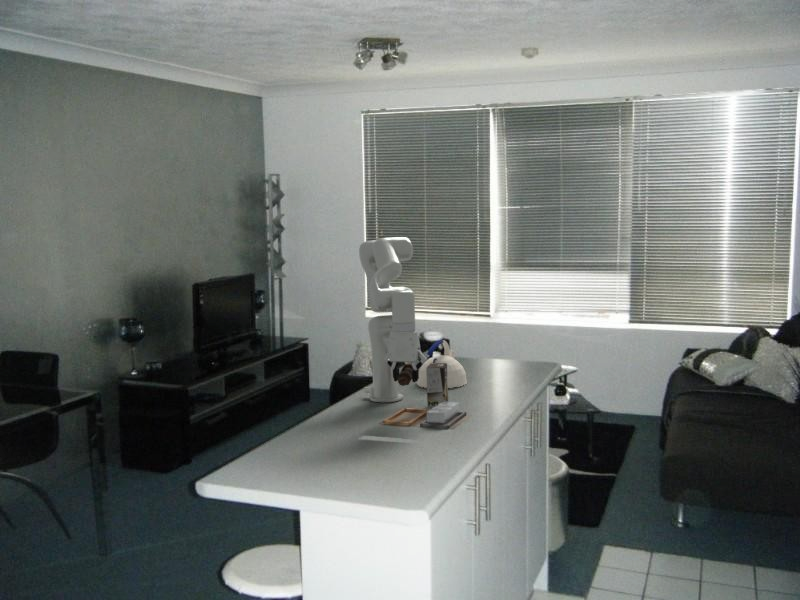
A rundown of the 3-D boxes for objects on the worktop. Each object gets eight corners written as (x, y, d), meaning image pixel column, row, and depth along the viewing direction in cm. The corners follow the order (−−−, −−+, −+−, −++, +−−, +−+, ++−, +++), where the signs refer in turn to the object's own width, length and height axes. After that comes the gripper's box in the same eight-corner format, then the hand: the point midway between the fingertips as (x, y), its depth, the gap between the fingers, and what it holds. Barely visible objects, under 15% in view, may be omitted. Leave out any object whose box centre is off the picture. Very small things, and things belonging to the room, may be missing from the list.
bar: (427, 425, 260) (426, 412, 260) (443, 414, 274) (442, 401, 273) (444, 427, 258) (444, 413, 257) (459, 415, 271) (459, 402, 271)
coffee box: (445, 413, 280) (444, 367, 278) (427, 413, 281) (425, 367, 280) (449, 407, 289) (447, 362, 287) (431, 406, 290) (429, 362, 289)
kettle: (476, 381, 332) (474, 337, 330) (451, 391, 315) (450, 345, 313) (433, 377, 343) (431, 335, 341) (407, 387, 326) (405, 342, 324)
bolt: (400, 392, 263) (407, 381, 278) (413, 385, 262) (420, 374, 277) (391, 377, 263) (398, 367, 278) (404, 370, 262) (411, 360, 277)
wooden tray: (378, 427, 265) (378, 420, 265) (400, 413, 282) (400, 407, 282) (453, 433, 255) (453, 426, 255) (471, 418, 272) (471, 412, 271)
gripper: (375, 328, 268) (377, 382, 269) (424, 329, 261) (426, 384, 263) (384, 325, 274) (386, 377, 276) (432, 326, 268) (434, 380, 269)
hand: (405, 380), depth 269 cm, fingers closed on bolt, 6 cm apart
